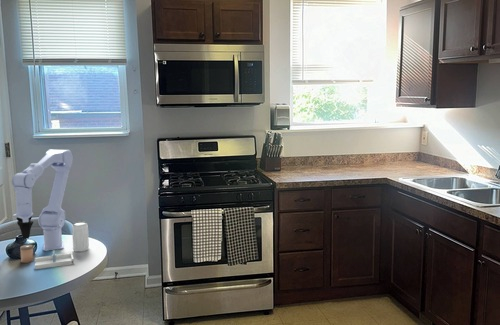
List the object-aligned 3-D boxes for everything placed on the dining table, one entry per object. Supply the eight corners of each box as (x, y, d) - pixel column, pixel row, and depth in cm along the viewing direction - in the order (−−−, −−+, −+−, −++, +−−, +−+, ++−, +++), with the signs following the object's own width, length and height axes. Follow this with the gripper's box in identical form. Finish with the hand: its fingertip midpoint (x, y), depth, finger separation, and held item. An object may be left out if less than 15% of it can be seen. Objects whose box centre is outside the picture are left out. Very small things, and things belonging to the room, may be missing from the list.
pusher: (52, 258, 179) (52, 250, 178) (55, 258, 179) (55, 250, 179) (53, 264, 173) (52, 255, 173) (55, 263, 174) (55, 255, 173)
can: (70, 250, 190) (68, 224, 189) (81, 246, 196) (80, 220, 194) (80, 253, 187) (79, 226, 186) (92, 248, 193) (91, 222, 191)
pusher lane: (35, 261, 177) (35, 256, 177) (72, 256, 183) (72, 251, 183) (35, 269, 169) (34, 264, 169) (73, 263, 175) (73, 258, 175)
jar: (21, 259, 179) (20, 245, 179) (33, 257, 181) (32, 244, 180) (20, 263, 175) (19, 249, 175) (33, 261, 177) (32, 247, 176)
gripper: (12, 200, 179) (13, 233, 180) (13, 207, 166) (14, 241, 168) (31, 199, 182) (32, 231, 184) (33, 205, 170) (35, 239, 171)
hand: (25, 236), depth 176 cm, fingers open, 7 cm apart
